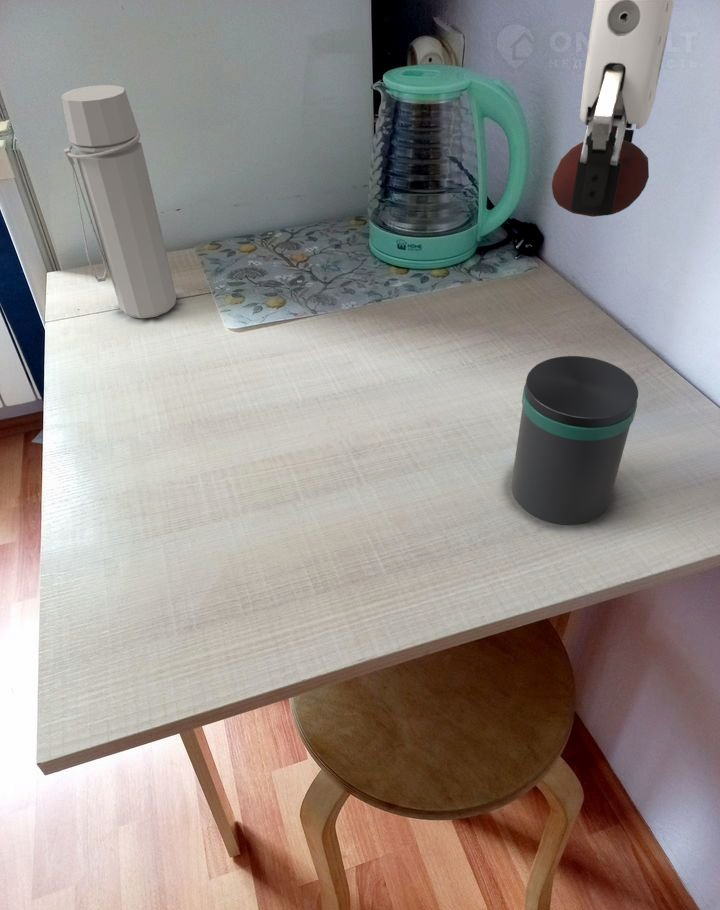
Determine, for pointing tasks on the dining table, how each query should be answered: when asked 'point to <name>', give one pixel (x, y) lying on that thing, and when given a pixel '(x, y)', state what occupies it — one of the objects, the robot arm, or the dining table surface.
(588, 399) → the canister
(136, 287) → the water bottle
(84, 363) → the dining table surface
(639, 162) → the potato
